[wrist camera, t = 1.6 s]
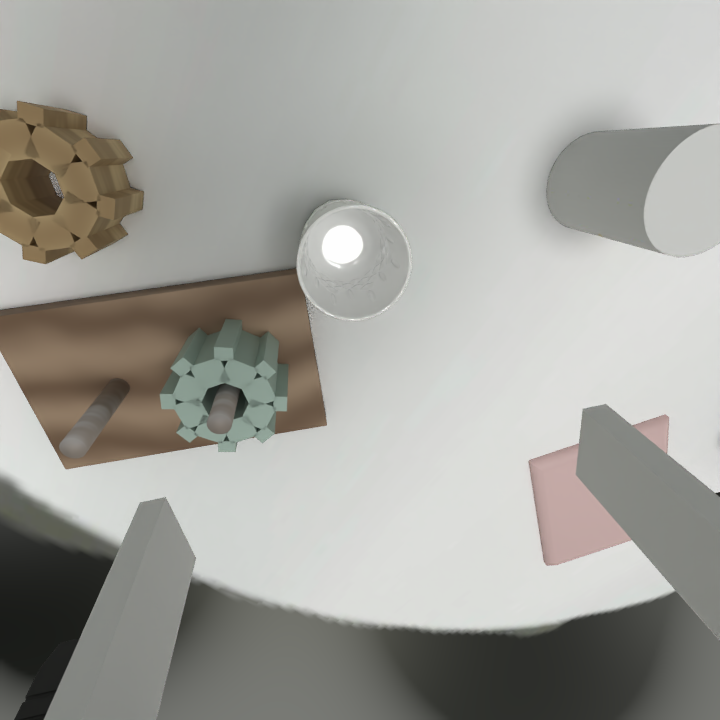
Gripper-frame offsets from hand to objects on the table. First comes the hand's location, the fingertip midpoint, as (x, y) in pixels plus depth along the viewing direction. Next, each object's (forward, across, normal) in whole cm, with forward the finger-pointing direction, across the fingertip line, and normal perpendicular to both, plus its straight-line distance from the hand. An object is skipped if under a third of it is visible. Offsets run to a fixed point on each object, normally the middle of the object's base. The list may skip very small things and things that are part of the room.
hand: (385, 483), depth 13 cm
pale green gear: (+26, -10, -7) cm, 29 cm away
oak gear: (+28, -18, +10) cm, 35 cm away
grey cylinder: (+28, +25, +3) cm, 38 cm away
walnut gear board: (+28, -16, -7) cm, 33 cm away
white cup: (+28, +2, +2) cm, 28 cm away
